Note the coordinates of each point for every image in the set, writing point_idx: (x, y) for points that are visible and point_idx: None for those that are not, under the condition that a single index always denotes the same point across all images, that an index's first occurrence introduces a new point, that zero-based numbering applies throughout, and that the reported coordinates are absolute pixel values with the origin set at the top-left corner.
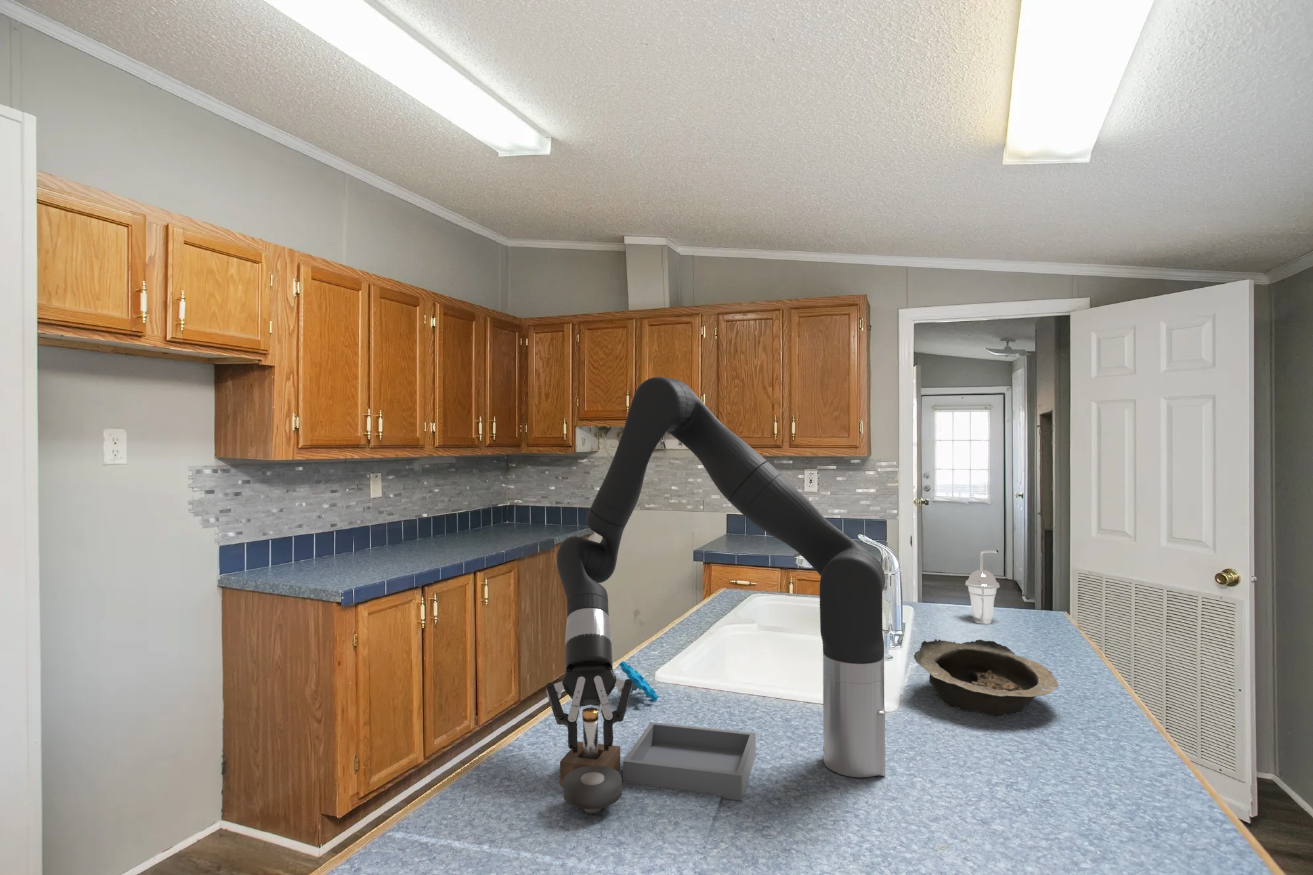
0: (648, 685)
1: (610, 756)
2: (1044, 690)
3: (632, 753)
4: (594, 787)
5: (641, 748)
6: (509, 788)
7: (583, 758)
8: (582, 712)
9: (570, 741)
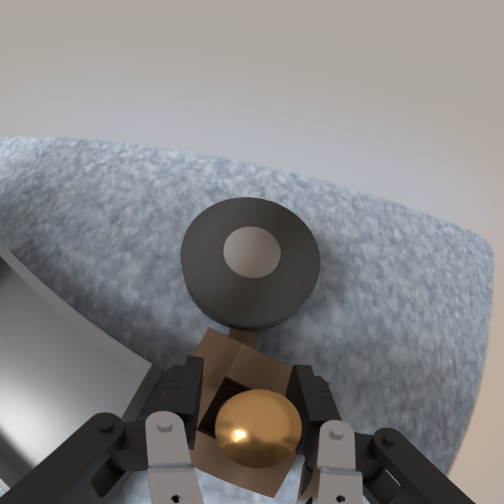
0: None
1: None
2: None
3: (118, 399)
4: (251, 218)
5: None
6: (400, 396)
7: None
8: (300, 420)
9: (319, 382)
